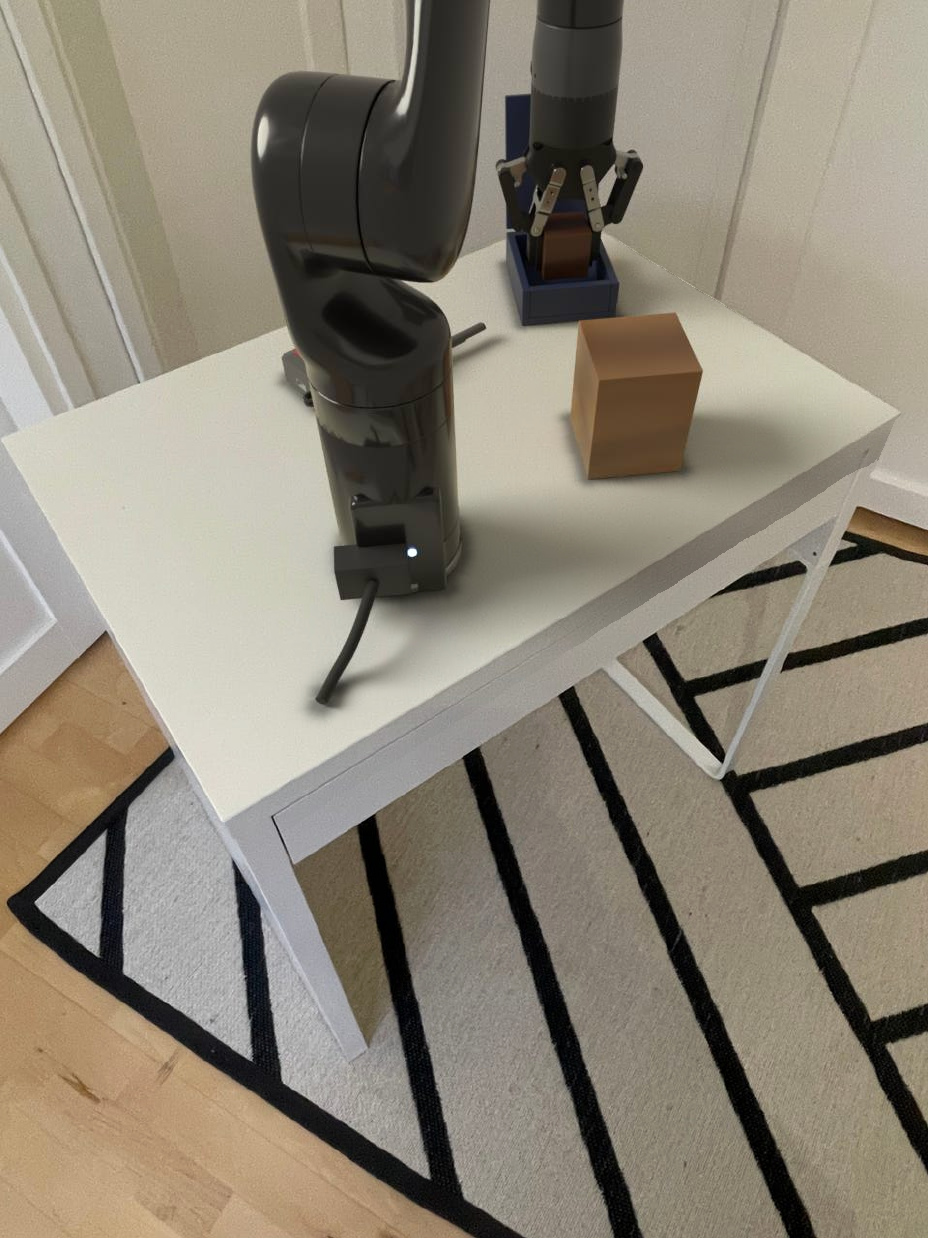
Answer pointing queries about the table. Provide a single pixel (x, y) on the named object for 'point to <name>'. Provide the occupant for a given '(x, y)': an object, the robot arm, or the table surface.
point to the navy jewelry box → (559, 288)
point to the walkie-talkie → (298, 373)
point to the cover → (514, 149)
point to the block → (566, 246)
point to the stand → (633, 394)
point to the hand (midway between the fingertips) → (562, 263)
